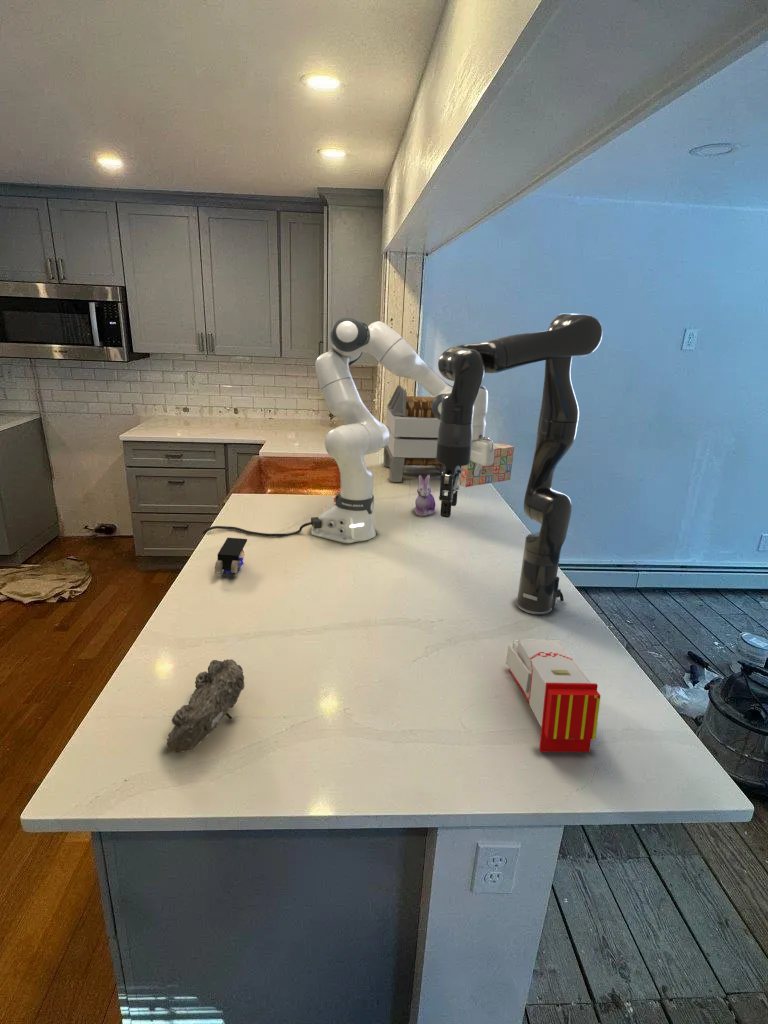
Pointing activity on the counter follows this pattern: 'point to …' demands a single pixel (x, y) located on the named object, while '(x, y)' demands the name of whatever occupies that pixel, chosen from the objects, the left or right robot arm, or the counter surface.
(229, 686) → the fossil
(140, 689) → the counter surface
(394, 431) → the grey slatted crate
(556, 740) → the toy
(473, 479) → the stack of blocks
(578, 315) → the right robot arm
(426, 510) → the figurine
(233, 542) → the figurine character
